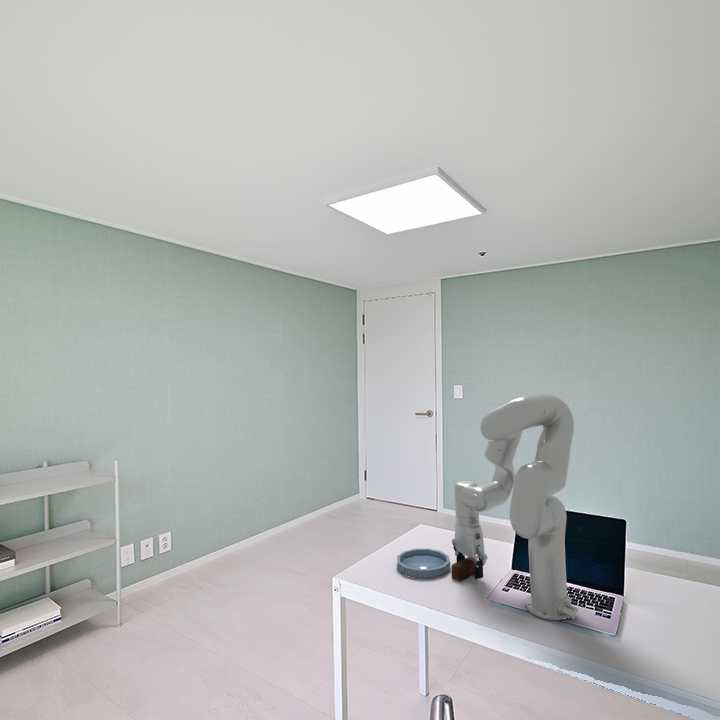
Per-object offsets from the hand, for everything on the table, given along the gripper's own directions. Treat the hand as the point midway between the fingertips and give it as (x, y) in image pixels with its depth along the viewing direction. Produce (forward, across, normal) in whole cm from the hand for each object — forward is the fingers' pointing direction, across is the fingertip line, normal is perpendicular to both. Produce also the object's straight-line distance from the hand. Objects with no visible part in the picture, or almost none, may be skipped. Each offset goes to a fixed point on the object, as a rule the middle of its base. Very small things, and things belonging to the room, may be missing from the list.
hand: (469, 572), depth 151 cm
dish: (+1, +14, +9) cm, 17 cm away
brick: (+2, +2, 0) cm, 2 cm away
